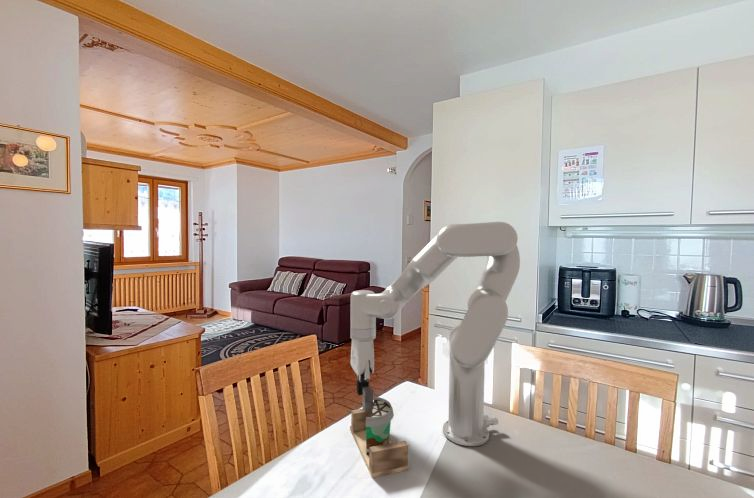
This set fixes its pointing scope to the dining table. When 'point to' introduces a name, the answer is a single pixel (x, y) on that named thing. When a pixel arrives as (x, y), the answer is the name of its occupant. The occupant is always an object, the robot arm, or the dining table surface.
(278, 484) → the dining table surface
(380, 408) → the food container
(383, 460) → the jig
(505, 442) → the dining table surface
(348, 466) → the dining table surface
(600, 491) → the dining table surface
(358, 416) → the block
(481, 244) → the robot arm
